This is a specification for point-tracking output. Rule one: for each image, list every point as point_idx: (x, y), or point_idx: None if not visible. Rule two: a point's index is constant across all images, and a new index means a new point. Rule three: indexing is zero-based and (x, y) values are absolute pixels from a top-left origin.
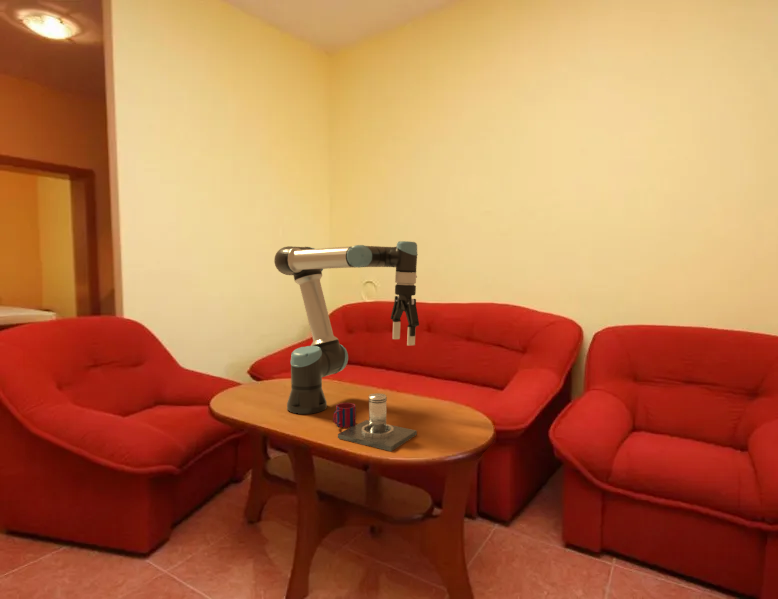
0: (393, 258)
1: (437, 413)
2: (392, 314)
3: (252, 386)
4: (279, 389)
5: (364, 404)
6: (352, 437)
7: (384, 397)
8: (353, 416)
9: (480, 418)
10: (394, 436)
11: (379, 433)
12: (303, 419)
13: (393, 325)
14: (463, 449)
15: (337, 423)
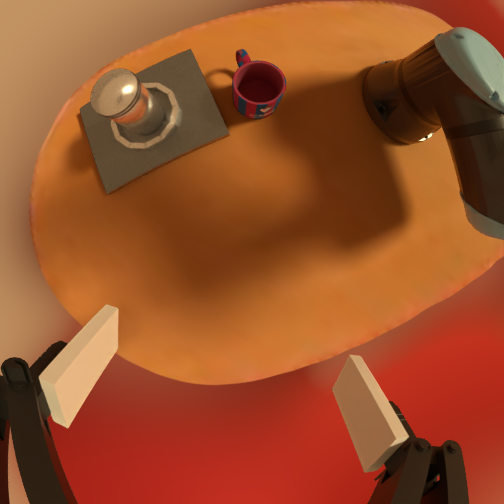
0: None
1: (196, 319)
2: (450, 474)
3: None
4: None
5: (358, 219)
6: (155, 64)
7: (91, 102)
8: (234, 98)
9: (130, 358)
10: (107, 135)
11: None
12: (338, 56)
13: (390, 418)
14: (35, 225)
15: (239, 66)
